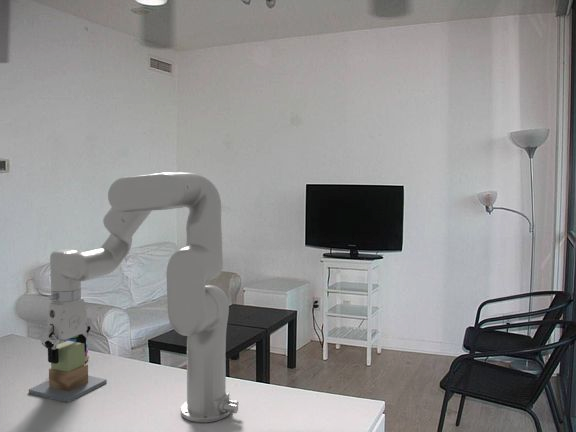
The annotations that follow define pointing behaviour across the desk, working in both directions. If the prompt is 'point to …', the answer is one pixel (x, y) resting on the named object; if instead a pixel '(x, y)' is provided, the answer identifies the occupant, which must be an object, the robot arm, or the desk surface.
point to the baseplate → (67, 395)
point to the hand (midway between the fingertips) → (67, 356)
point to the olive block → (69, 356)
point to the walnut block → (68, 378)
